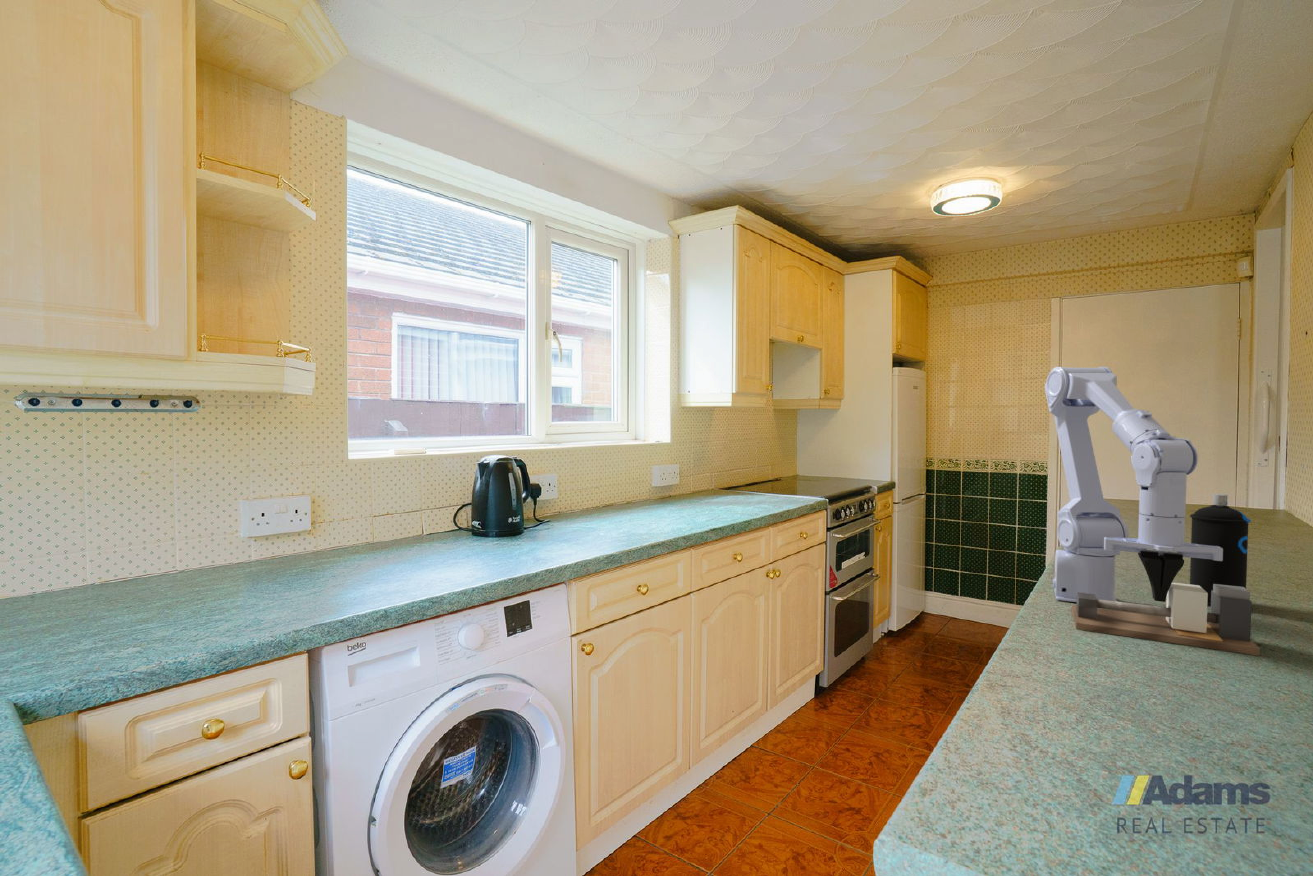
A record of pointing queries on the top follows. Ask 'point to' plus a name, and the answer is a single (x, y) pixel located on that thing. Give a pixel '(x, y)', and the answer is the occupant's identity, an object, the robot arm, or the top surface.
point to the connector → (1231, 612)
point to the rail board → (1148, 624)
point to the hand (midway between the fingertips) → (1159, 600)
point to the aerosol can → (1220, 545)
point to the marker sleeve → (1187, 607)
